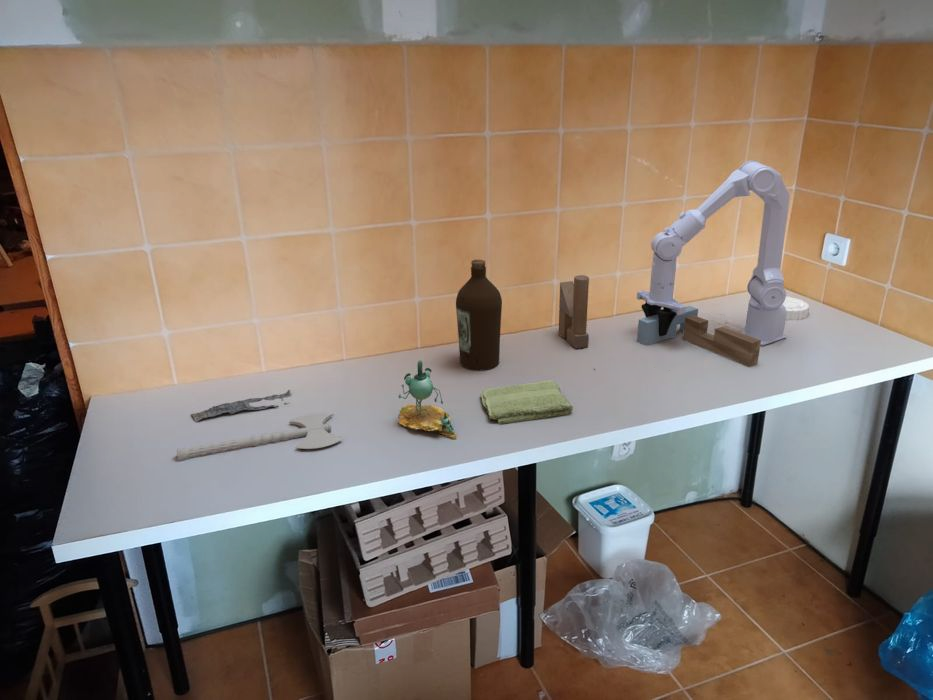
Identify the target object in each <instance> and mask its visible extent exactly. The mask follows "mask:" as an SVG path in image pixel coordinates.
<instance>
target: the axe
mask: <svg viewBox="0 0 933 700" xmlns="http://www.w3.org/2000/svg"><path fill="white" fill-rule="evenodd" d="M334 415H335V414H334V413H328V412H321V413H320V412H318V413H317V412H316V413H310V414H305V415H302V416H298V417H295V418H293V419H292V420H290V421H289V422H288V423H289V424H291V425H292V424H293V425H295V426H298V427H301V428H297V429H291V430H286V429H285V430H284V429H283V430H282V431H279V432H276V431H273V432H272V433H269V434H267V433H264V434H261V435H252V436H250V437H246V438H241V439H232V440H230V441H229V440H228V441H221V442H219V443H211V444H208V445H207V444H206V445H200V446H196V447H195V446H193V447H181V448H179V447H178V448H177V449H176V455H177V460H178V462H180V461H185V460H189V459H192V458H196V457H204V456H206V455H215V454H217V453H224V452H225V453H226V452H229V451H236V450H239V449H244V448H248V447H249V448H250V447H258V446H260V445H265V446H266V445H268V444H271V443H273V444H274V443H275V444H276V443H278V442H286V441H289V440H292V439H299V438H304V439H303V440H302V441H301V442H299V444H297V445H296V446H295V449H303V450H304V449H305V450H311V449H312V450H313V449H321V448H326V447H329V446H332V445H334V444H337V443H339V442H341V441H342V440H343V439H344V437H341V436H337V435H335V434H331V432H332V425H331V423H329V422H327V421H328V420H329V419H330V418H332V417H333V416H334ZM326 422H327V423H326Z"/></svg>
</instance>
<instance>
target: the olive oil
mask: <svg viewBox="0 0 933 700" xmlns="http://www.w3.org/2000/svg"><path fill="white" fill-rule="evenodd" d="M470 263H471V264H470V265H471V267H470V274H471V275H470V278H469V279H468V280H467V281H466V282H465V283H464V285H462V286H461V288H460V289H459V290H458V292H457V295H456V299H455V311H456V322H457V323H456V325H457V335H458V350H459V353H458V354H459V364H460V365H461V366H462V367H463V368H464V369H468V370H472V371H487V370H491V369H494V368H496V367H497V366H498V365H499V364H500V355H501V354H500V353H501V352H500V349H501V347H500V346H501V326H502V325H501V324H502V322H501V321H502V310H503V307H502V306H503V300H502V296H501V293H500V291H499V289H498V288H497V287H496V286H495V285H494V284H493V282H492V281H491V280H489V279H488V278H487V275H486V274H487V267H486V260H483V259H473V260H471V262H470Z"/></svg>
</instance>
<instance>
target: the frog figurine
mask: <svg viewBox="0 0 933 700" xmlns="http://www.w3.org/2000/svg"><path fill="white" fill-rule="evenodd" d="M427 371H428V372H427ZM430 373H432V369H431V368H429V367H425V369H424V372H423V360H418V361H417V374H414V376H413V377H411V373H410V372H408V373H407V374H405V376H404V378H403V379H404V382H405V384H404V383H403V384H401V388H402V393H403V395H406V394H407V395H406V396H402V395H401V394H400V393H399V394H398V399H401V398H402V399H405V400H406V399H407V398H408V396H409V394H410V395H411V396H412V397H413V398H414V399H415V400H416V402H415V404H410V403H409V404H407V405H403V407H401V409H400V410H399V413H398V415H399V418H398V422H399V425H401V426H403V427H405V428H406V427H407V428H409V429H412V430H424V431H427V432H435V431H439V432H438V434H439V435H443V436H445V438H449V439H455V440H456V439H457V433H455V429H454V427H453V424H452V419H451V417H450V415H449V414H448V412H447V411H444V410H443V409H442V408H441V407H439V406H436V405H432V404H429V405H426V404H422V401H423V400H426V399H428V398H430V397H431V396H432V393H433V390H434V391H435V393H436V397H435V398H434V402H435V403H437V399H438V396H440V403H441V404H442V405H443V404H444V401H443V399H442V395H441V394H442V393H441V390H440V389H438V388H436V387H435V386H434V385H433V382H432V379H431V374H430ZM405 385H406V386H408V390H407V391H405V389H404V388H405V387H404V386H405ZM438 392H439V393H438ZM443 427H445V428H443Z"/></svg>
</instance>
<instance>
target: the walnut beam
mask: <svg viewBox="0 0 933 700" xmlns="http://www.w3.org/2000/svg"><path fill="white" fill-rule="evenodd" d="M708 325H709V320H708V319H705V318H703V317H700V316H695V315H692V316H689V317H685V325H684V331H683V335H682V340H683V341H686V342H687V343H690V344H693V345H695V346H698V347H700V348H702V349H705V350H707V351H710V352H712V353H715V354H717V355H720V356H722V357H724V358H726V359H729V360H731V361H734V362H735V363H739V364H741V365H743V366H745V367H748V368H750V367H752V366H755V365H756V366H757V365H758V363H759V358H760V357H759V356H760V350H761V345H760V344H761V340H759V339H757V338H754V337H751V336H749V335H746V334H743V333H742V332H740V331H738V330H735V329H732V328H729V327H727V326H725V325H723V326H719V327H716V328H714V334H712V333H709V332H708V328H709V327H708Z"/></svg>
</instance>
